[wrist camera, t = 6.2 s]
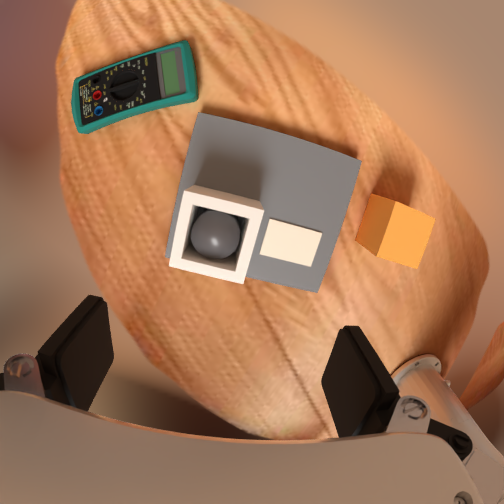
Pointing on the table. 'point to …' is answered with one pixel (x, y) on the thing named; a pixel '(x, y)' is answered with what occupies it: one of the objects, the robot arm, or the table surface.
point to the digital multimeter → (134, 87)
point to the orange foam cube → (394, 231)
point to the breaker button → (215, 234)
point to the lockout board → (262, 202)
